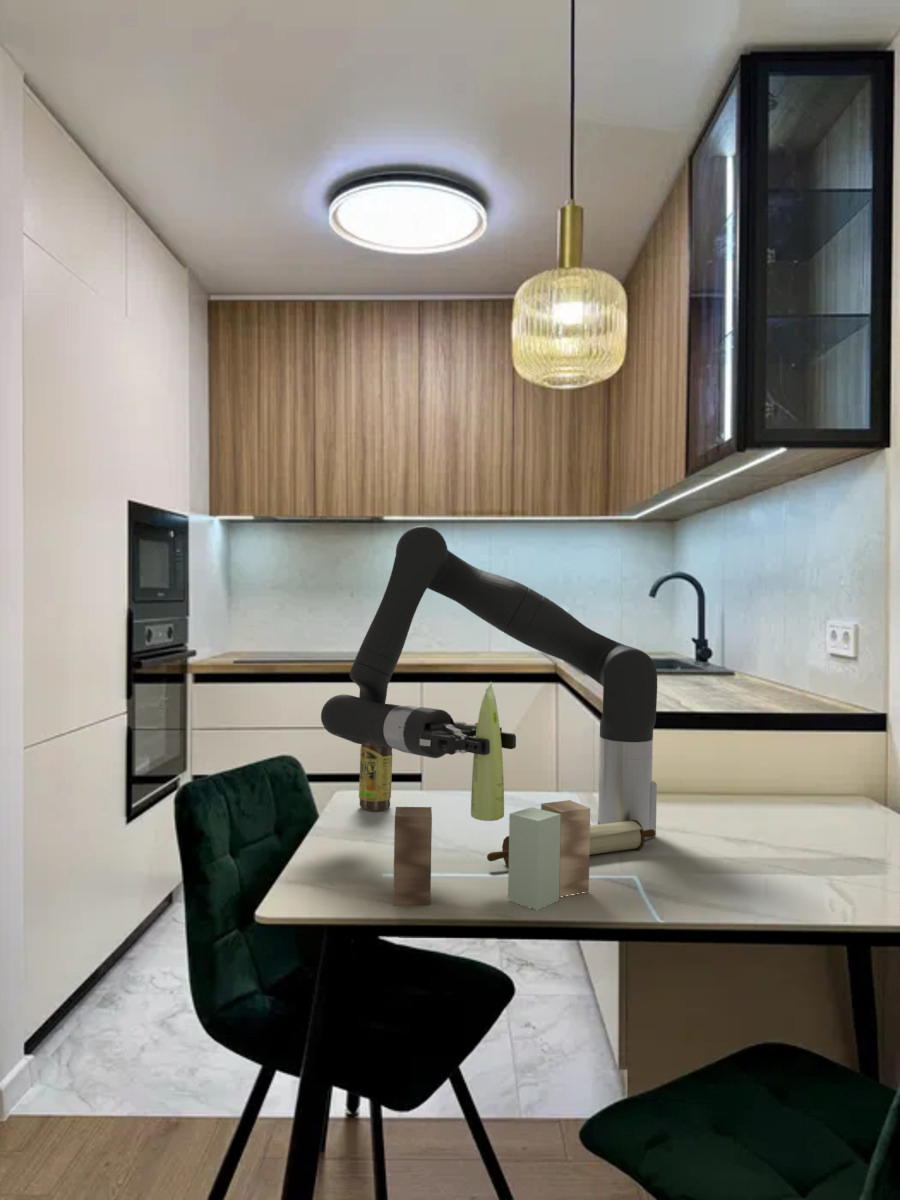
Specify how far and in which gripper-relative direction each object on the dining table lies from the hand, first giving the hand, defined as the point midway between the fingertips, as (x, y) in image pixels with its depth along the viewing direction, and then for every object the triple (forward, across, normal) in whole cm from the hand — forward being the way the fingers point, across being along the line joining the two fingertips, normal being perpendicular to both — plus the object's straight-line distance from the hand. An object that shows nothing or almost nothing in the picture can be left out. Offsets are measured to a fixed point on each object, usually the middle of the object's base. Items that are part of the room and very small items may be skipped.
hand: (501, 744), depth 118 cm
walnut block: (-5, -13, +20) cm, 25 cm away
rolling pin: (0, +19, +21) cm, 28 cm away
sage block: (+7, -1, +20) cm, 22 cm away
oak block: (+7, +5, +21) cm, 23 cm away
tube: (-3, 0, +11) cm, 12 cm away
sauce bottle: (-44, +16, +21) cm, 51 cm away
